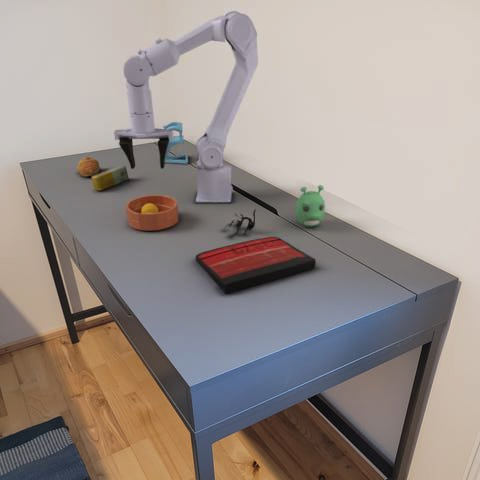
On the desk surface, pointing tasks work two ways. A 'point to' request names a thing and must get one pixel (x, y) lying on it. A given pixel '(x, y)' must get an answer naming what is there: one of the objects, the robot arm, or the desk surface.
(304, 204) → the alien toy
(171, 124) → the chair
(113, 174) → the medication box
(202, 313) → the desk surface
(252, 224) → the creature
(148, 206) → the blob
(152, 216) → the bowl
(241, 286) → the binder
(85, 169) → the pastry
